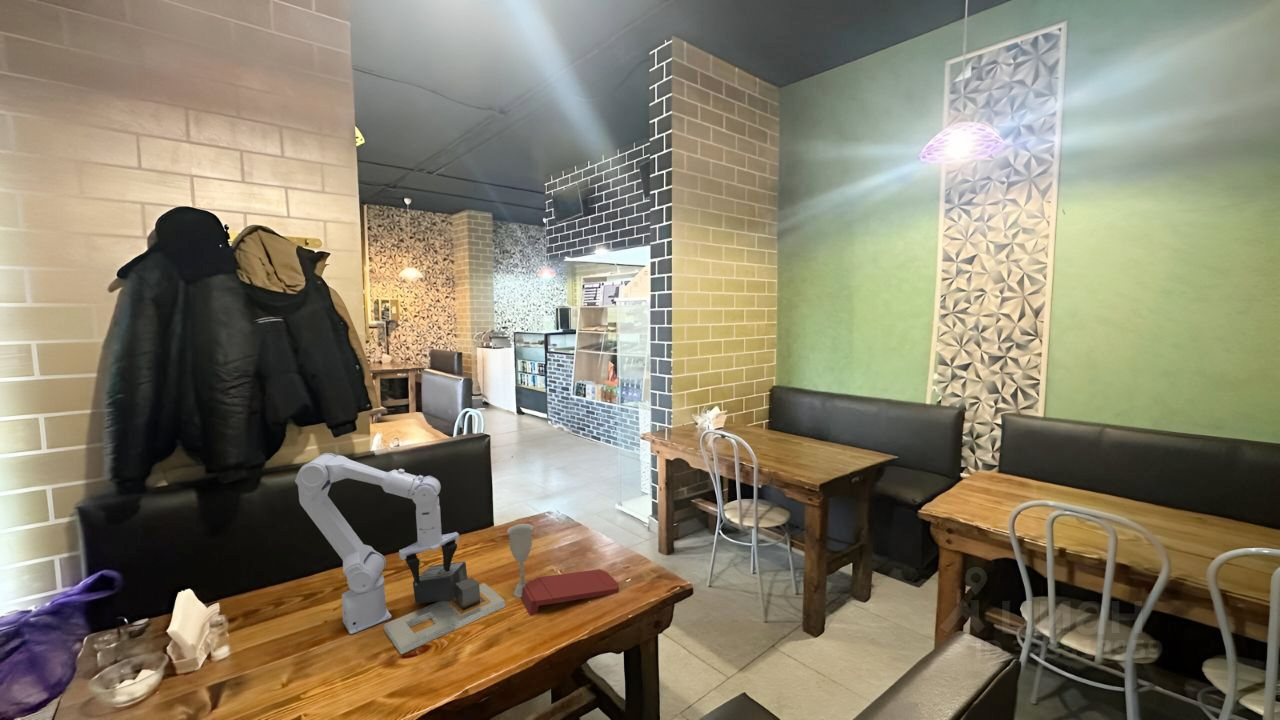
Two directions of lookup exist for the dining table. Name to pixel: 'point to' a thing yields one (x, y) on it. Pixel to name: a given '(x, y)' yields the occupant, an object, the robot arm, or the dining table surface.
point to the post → (467, 593)
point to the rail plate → (440, 620)
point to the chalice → (520, 550)
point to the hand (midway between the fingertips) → (432, 575)
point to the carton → (566, 588)
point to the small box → (439, 583)
